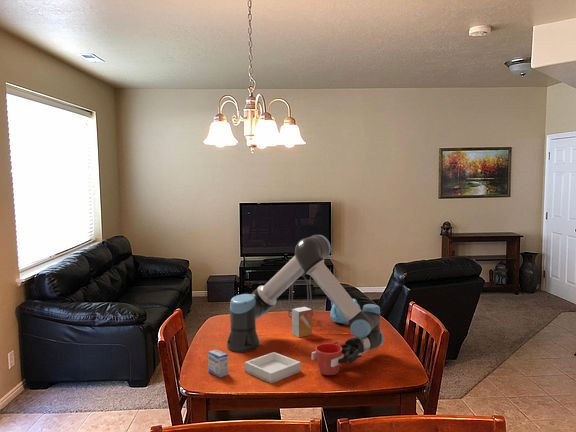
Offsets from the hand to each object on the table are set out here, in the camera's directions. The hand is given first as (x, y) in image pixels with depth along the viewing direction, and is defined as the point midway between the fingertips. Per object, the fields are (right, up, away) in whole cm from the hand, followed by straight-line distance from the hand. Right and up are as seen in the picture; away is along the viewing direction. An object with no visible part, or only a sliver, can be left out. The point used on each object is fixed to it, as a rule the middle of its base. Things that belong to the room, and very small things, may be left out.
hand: (321, 359), depth 193 cm
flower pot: (+3, -6, +4) cm, 8 cm away
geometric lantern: (-7, -1, +73) cm, 73 cm away
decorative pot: (+18, -1, +72) cm, 74 cm away
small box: (-6, -3, +51) cm, 52 cm away
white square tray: (-20, -7, +6) cm, 21 cm away
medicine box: (-41, -7, +5) cm, 42 cm away
